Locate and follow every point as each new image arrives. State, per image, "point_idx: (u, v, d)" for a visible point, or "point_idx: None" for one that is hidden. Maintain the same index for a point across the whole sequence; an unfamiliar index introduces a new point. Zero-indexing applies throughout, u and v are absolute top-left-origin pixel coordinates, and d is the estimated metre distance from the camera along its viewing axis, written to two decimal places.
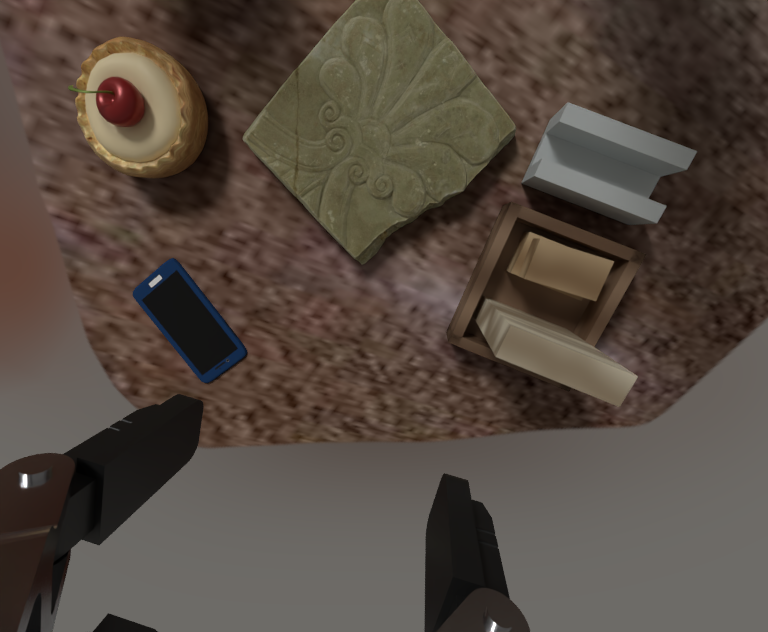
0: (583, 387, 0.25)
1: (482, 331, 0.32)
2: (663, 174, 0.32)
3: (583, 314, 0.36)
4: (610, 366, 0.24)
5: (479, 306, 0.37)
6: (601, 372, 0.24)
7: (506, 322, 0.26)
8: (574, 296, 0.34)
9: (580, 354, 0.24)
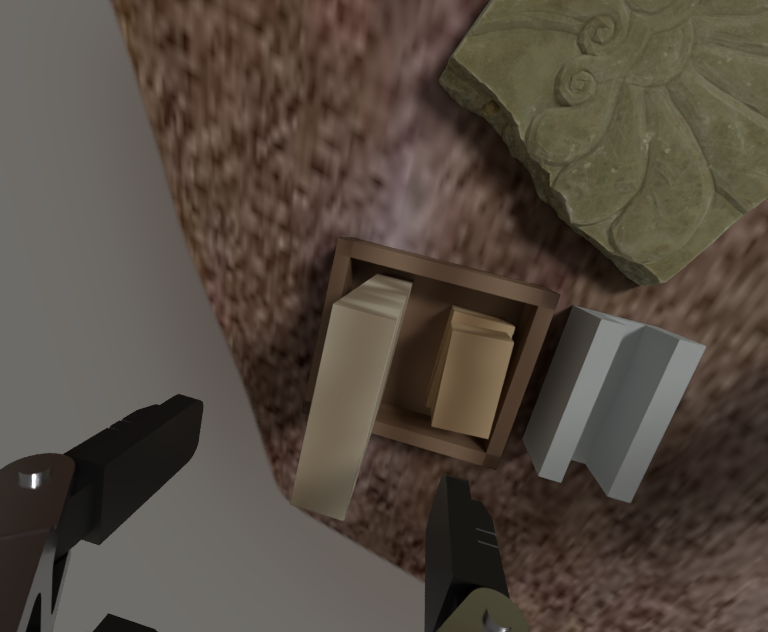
0: (309, 451, 0.15)
1: (366, 282, 0.20)
2: (589, 467, 0.26)
3: (405, 409, 0.28)
4: (352, 483, 0.15)
5: (397, 276, 0.25)
6: (339, 473, 0.15)
7: (396, 313, 0.15)
8: (430, 397, 0.25)
9: (363, 438, 0.14)
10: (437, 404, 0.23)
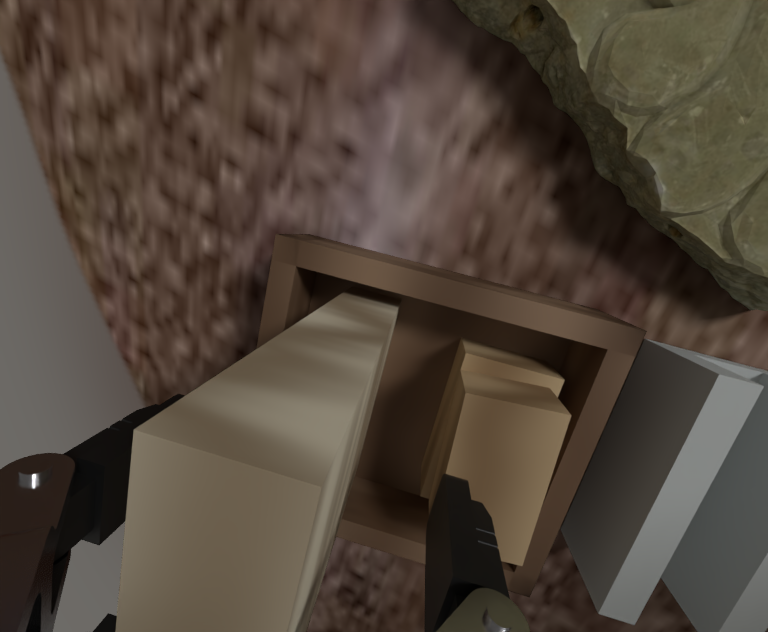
0: None
1: (311, 316, 0.11)
2: (666, 581, 0.18)
3: (390, 487, 0.19)
4: None
5: (377, 295, 0.16)
6: None
7: (339, 429, 0.06)
8: (427, 483, 0.16)
9: None
10: None
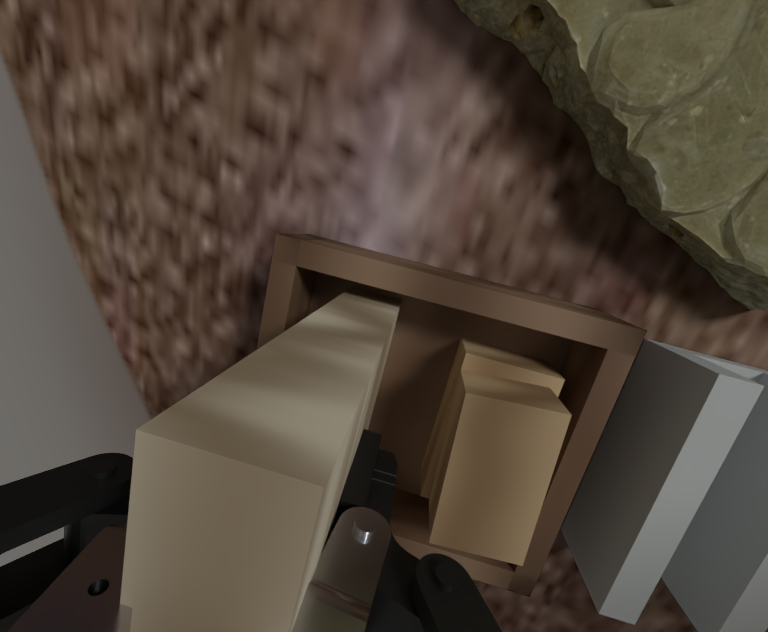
0: None
1: (312, 316, 0.11)
2: (666, 581, 0.18)
3: None
4: None
5: (377, 295, 0.16)
6: None
7: (341, 429, 0.06)
8: (427, 483, 0.16)
9: None
10: (439, 509, 0.14)
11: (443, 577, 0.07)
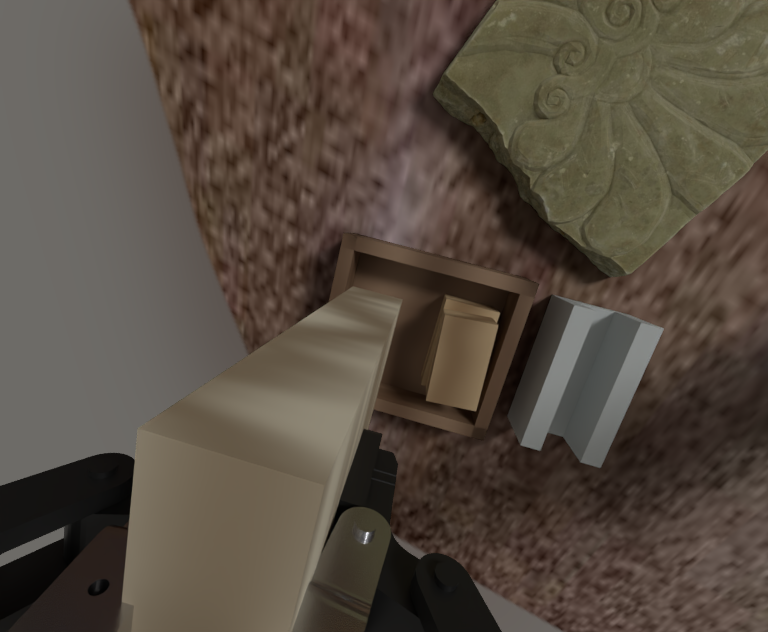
0: None
1: (312, 315, 0.11)
2: (566, 439, 0.30)
3: (402, 389, 0.31)
4: None
5: (377, 295, 0.16)
6: None
7: (341, 428, 0.06)
8: (425, 376, 0.28)
9: None
10: (431, 381, 0.26)
11: (443, 577, 0.07)
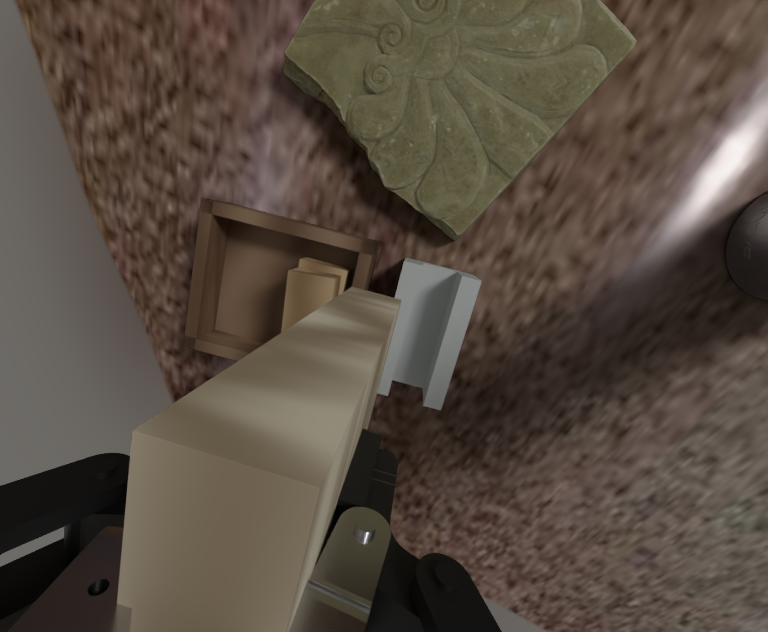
0: None
1: (310, 316, 0.11)
2: (423, 389, 0.33)
3: None
4: None
5: (376, 295, 0.16)
6: None
7: (338, 429, 0.06)
8: None
9: None
10: (282, 331, 0.28)
11: (443, 577, 0.07)
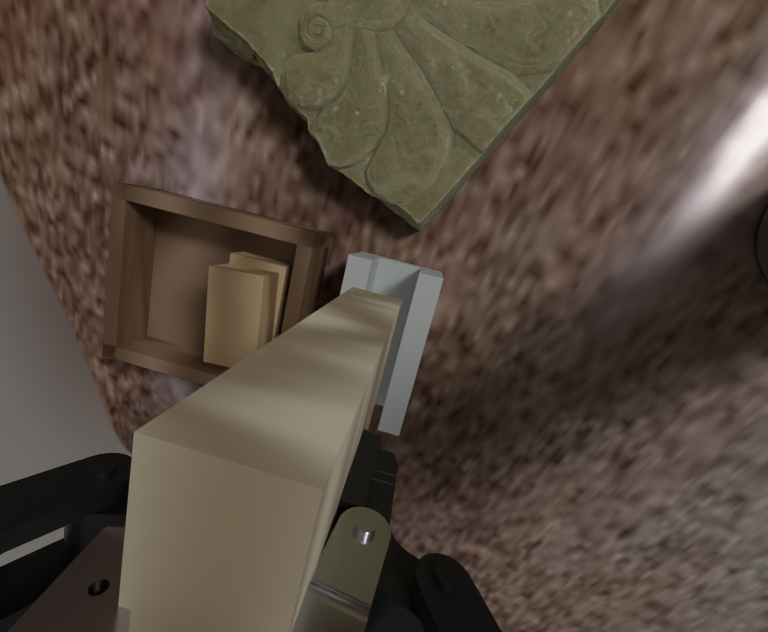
0: None
1: (311, 316, 0.11)
2: None
3: None
4: None
5: (377, 296, 0.16)
6: None
7: (340, 431, 0.06)
8: None
9: None
10: (205, 339, 0.24)
11: (443, 577, 0.07)
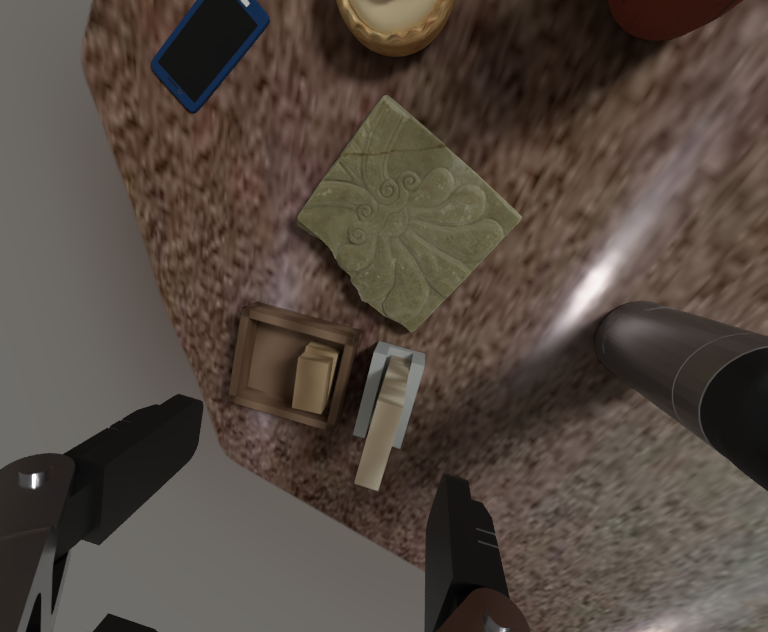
0: (364, 460, 0.34)
1: (386, 373, 0.39)
2: None
3: (290, 399, 0.48)
4: (382, 474, 0.34)
5: (401, 359, 0.45)
6: (377, 469, 0.34)
7: (403, 401, 0.34)
8: None
9: (388, 455, 0.34)
10: (293, 395, 0.43)
11: None
